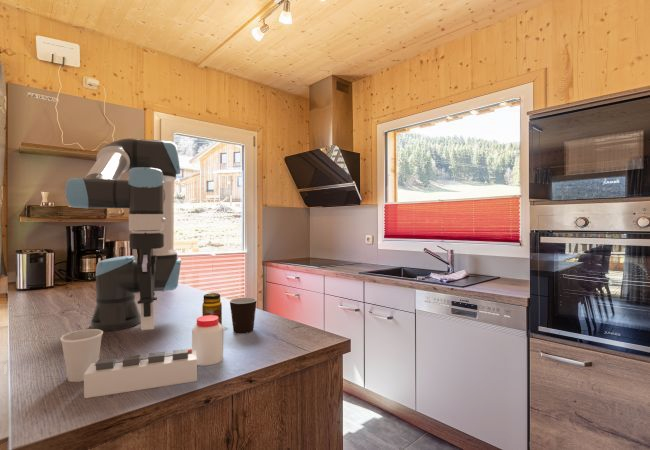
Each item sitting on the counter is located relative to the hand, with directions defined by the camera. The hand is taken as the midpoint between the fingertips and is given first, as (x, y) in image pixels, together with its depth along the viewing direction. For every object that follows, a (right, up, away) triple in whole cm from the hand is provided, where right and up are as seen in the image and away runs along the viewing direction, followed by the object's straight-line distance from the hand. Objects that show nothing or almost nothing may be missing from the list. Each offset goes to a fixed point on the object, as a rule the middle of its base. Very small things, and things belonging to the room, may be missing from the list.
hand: (147, 328), depth 88 cm
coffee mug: (+17, -10, +32) cm, 37 cm away
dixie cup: (-14, -11, -3) cm, 18 cm away
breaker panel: (+3, -10, -7) cm, 13 cm away
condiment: (+5, -10, +31) cm, 33 cm away
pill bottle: (+12, -10, +7) cm, 18 cm away
